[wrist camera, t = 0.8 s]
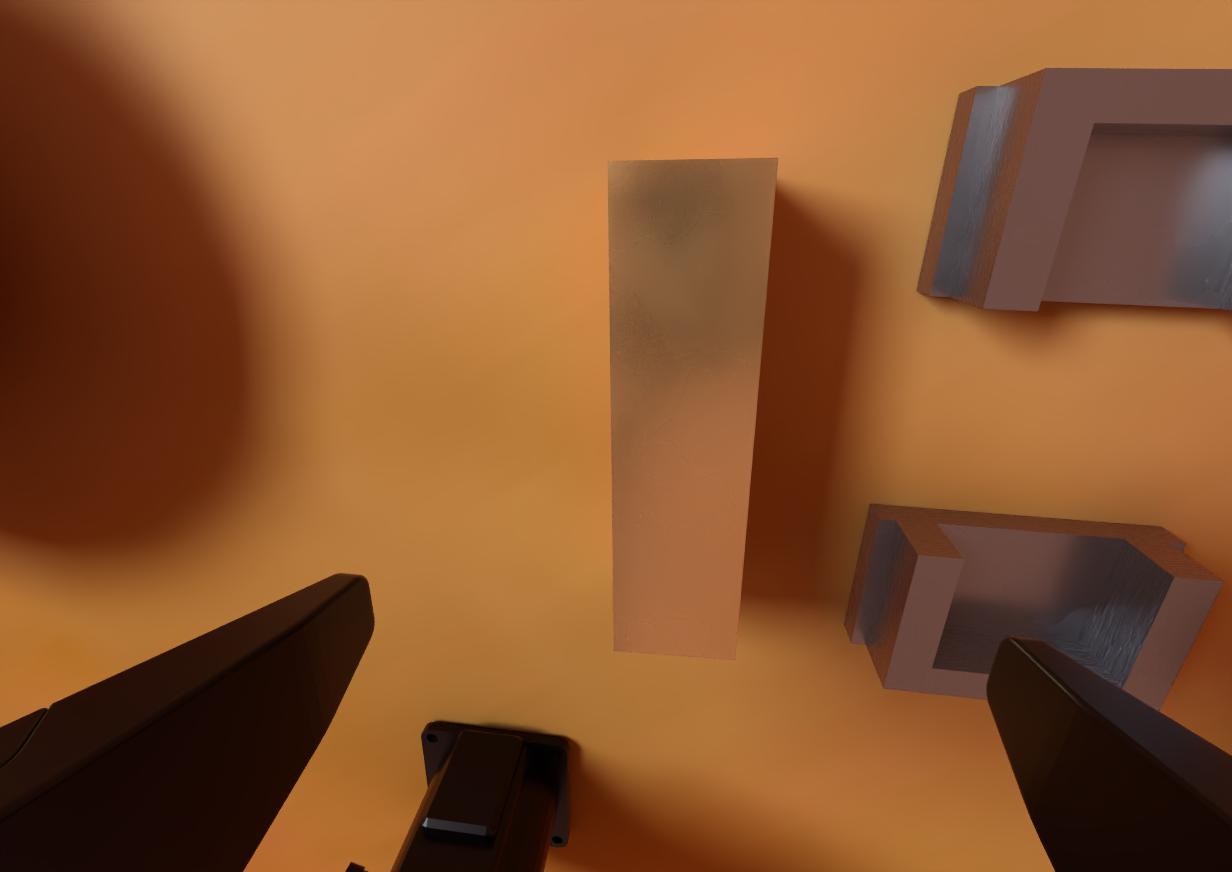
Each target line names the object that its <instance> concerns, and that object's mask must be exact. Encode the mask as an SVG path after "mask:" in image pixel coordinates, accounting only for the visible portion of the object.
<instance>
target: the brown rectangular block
mask: <svg viewBox="0 0 1232 872" xmlns="http://www.w3.org/2000/svg"><path fill="white" fill-rule="evenodd" d="M777 166H778V158H747V159H693V160H640V161H608V220H609V298H610V377H611V455H612V534H613V612H614V651H621V652H634V653H647V654H659V655H672V656H685V657H698V658H711V659H724V660H735V658H736V646H737V635H738V623H739V611H740V600H741V588H742V576H743V564H744V553H745V541H746V529H747V517H748V506H749V494H750V482H751V471H752V459H753V447H754V435H755V424H756V412H757V400H758V389H759V377H760V365H761V353H762V342H763V330H764V318H765V307H766V295H767V283H768V271H769V260H770V248H771V236H772V225H773V213H774V201H775V189H776V178H777Z"/></svg>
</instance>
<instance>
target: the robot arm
mask: <svg viewBox="0 0 1232 872" xmlns="http://www.w3.org/2000/svg"><path fill="white" fill-rule="evenodd" d="M374 622H375V621H374V613H373V607H372V600H371V594H370V588H369V583H368V581H367V579H366V578H365V577H364V576H362V575H355V574H345V573H338V574H335V575H332V576H330V577H328V578H326V579H324V580H321V581H319V582H317V583H315V584H313V585H310V586H308V587H306V588H304V589H302V590H300V591H297V592H295V593H293V594H291V595H289V596H286V597H284V598H282V599H280V600H278V601H276V602H273V603H271V604H269V605H267V606H265V607H262V608H260V609H258V610H256V611H254V612H252V613H249V614H247V615H245V616H243V617H241V618H238V619H236V620H234V621H232V622H230V623H228V624H225V625H223V626H221V627H219V628H217V629H214V630H212V631H210V632H208V633H206V634H204V635H201V636H199V637H197V638H195V639H193V640H190V641H188V642H186V643H184V644H182V645H180V646H177V647H175V648H173V649H171V650H169V651H166V652H164V653H162V654H160V655H158V656H155V657H153V658H151V659H149V660H147V661H145V662H142V663H140V664H138V665H136V666H134V667H131V668H129V669H127V670H125V671H123V672H121V673H118V674H116V675H114V676H112V677H110V678H107V679H105V680H103V681H101V682H99V683H97V684H94V685H92V686H90V687H88V688H86V689H83V690H81V691H79V692H77V693H75V694H73V695H70V696H68V697H66V698H64V699H62V700H59V701H57V702H55V703H53V704H52V705H51V706H50V707H49V709H47V708H42V709H39V710H37V711H35V712H33V713H31V714H29V715H26V716H24V717H22V718H20V719H18V720H16V721H13V722H11V723H9V724H7V725H5V726H2V727H0V872H243V871H244V869H245V868H246V866H247V864H248V863H249V861H250V859H251V858H252V856H253V854H254V853H255V851H256V849H257V848H258V846H259V844H260V842H261V841H262V839H263V837H264V836H265V834H266V832H267V831H268V829H269V827H270V826H271V824H272V822H273V821H274V819H275V817H276V816H277V814H278V812H279V811H280V809H281V807H282V806H283V804H284V802H285V801H286V799H287V797H288V796H289V794H290V792H291V791H292V789H293V787H294V786H295V784H296V782H297V781H298V779H299V777H300V776H301V774H302V772H303V771H304V769H305V767H306V766H307V764H308V762H309V760H310V759H311V757H312V755H313V754H314V752H315V750H316V749H317V747H318V745H319V744H320V742H321V740H322V738H323V736H324V735H325V733H326V731H327V729H328V727H329V725H330V723H331V721H332V719H333V717H334V715H335V713H336V711H337V709H338V707H339V705H340V703H341V701H342V698H343V696H344V694H345V692H346V690H347V688H348V686H349V684H350V682H351V679H352V677H353V675H354V673H355V671H356V669H357V667H358V665H359V662H360V660H361V658H362V656H363V654H364V652H365V650H366V648H367V646H368V643H369V641H370V639H371V637H372V634H373V631H374ZM986 695H987V700H988V703H989V706H990V709H991V712H992V714H993V717H994V720H995V723H996V726H997V728H998V731H999V734H1000V737H1001V739H1002V742H1003V745H1004V748H1005V750H1006V753H1007V756H1008V759H1009V762H1010V764H1011V767H1012V770H1013V773H1014V775H1015V778H1016V781H1017V784H1018V786H1019V789H1020V792H1021V795H1022V797H1023V800H1024V803H1025V805H1026V808H1027V810H1028V813H1029V815H1030V818H1031V820H1032V822H1033V825H1034V827H1035V829H1036V831H1037V833H1038V836H1039V838H1040V840H1041V842H1042V844H1043V847H1044V849H1045V851H1046V853H1047V855H1048V857H1049V859H1050V861H1051V863H1052V866H1053V868H1054V870H1055V872H1232V756H1231V755H1230V754H1228V753H1226V752H1225V751H1223V750H1221V749H1220V748H1218V747H1216V746H1215V745H1213V744H1212V743H1210V742H1208V741H1207V740H1205V739H1203V738H1202V737H1200V736H1198V735H1197V734H1195V733H1193V732H1192V731H1190V730H1189V729H1187V728H1185V727H1184V726H1182V725H1180V724H1179V723H1177V722H1175V721H1174V720H1172V719H1171V718H1169V717H1167V716H1166V715H1164V714H1162V713H1161V712H1159V711H1157V710H1156V709H1154V708H1152V707H1151V706H1149V705H1148V704H1146V703H1144V702H1143V701H1141V700H1139V699H1138V698H1136V697H1134V696H1133V695H1131V694H1129V693H1128V692H1126V691H1125V690H1123V689H1121V688H1120V687H1118V686H1116V685H1115V684H1113V683H1111V682H1110V681H1108V680H1106V679H1105V678H1103V677H1102V676H1100V675H1098V674H1097V673H1095V672H1093V671H1092V670H1090V669H1088V668H1087V667H1085V666H1084V665H1082V664H1080V663H1079V662H1077V661H1075V660H1074V659H1072V658H1070V657H1069V656H1067V655H1065V654H1064V653H1062V652H1061V651H1059V650H1057V649H1056V648H1054V647H1052V646H1051V645H1049V644H1047V643H1046V642H1044V641H1042V640H1039V639H1035V638H1025V637H1014V636H1009V637H1006V638H1004V639H1003V640H1002V641H1001V643H1000V645H999V647H998V650H997V653H996V656H995V659H994V662H993V665H992V668H991V671H990V674H989V677H988V680H987V685H986ZM421 739H422V747H423V754H424V762H425V769H426V777H427V784H428V789H427V792H426V794H425V796H424V798H423V800H422V803H421V805H420V807H419V809H418V812H417V814H416V816H415V818H414V820H413V823H412V825H411V827H410V829H409V832H408V834H407V836H406V838H405V840H404V843H403V845H402V847H401V849H400V852H399V854H398V856H397V858H396V860H395V863H394V865H393V867H392V869H391V871H390V872H544V868H545V863H546V859H547V854H548V850H549V846H553V847H564V846H566V845H567V843H568V838H569V833H570V807H569V744H568V743H567V742H566V741H565V740H564V739H562V738H558V737H550V736H542V735H534V734H526V733H518V732H510V731H502V730H494V729H485V728H477V727H469V726H461V725H453V724H445V723H437V722H430V723H428V724H427V725H426V726H425V728H424V730H423V732H422V735H421ZM364 869H365V867H364V866H361V865H358V864H356V863H353V862H351V863H350V865H349V866H348V868H347V870H346V872H368V871H365V870H364Z"/></svg>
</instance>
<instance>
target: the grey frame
mask: <svg viewBox="0 0 1232 872" xmlns="http://www.w3.org/2000/svg"><path fill="white" fill-rule="evenodd" d="M917 292H920V293H923V294H925V295H928V296H939V297H950V298H953V299H956V300H959V301H962V302H965V303H968V304H970V305H973V306H976V307H979V308H982V309H996V310H1018V311H1038V310H1039V307H1040V303H1041V301H1053V302H1075V303H1098V304H1121V305H1144V306H1166V307H1189V308H1212V309H1223V310H1228V311H1232V69H1101V68H1045V69H1043V70H1040V71H1038V72H1035V73H1032V74H1030V75H1027V76H1025V77H1022V78H1019V79H1017V80H1014V81H1012V82H1009V83H1007V84H1004V85H1001V86H977V87H974V88H972V89H969V90H967V91H965V92H962V93H960V94H959V98H958V103H957V107H956V112H955V117H954V121H953V126H952V130H951V135H950V140H949V144H948V149H947V153H946V158H945V163H944V167H943V172H942V176H941V181H940V186H939V190H938V195H937V199H936V204H935V209H934V213H933V218H932V222H931V227H930V232H929V236H928V241H927V245H926V250H925V255H924V259H923V264H922V268H921V273H920V278H919V282H918V287H917ZM1185 545H1186V543H1184V542H1183V541H1181V540H1180V539H1178V538H1177V537H1175V536H1174V535H1173V534H1171V533H1170V532H1168V531H1167V530H1165V529H1164V528H1162V527H1155V526H1143V525H1130V524H1117V523H1105V522H1092V521H1079V520H1067V519H1054V518H1041V517H1029V516H1016V515H1003V514H991V513H978V512H965V511H953V510H940V509H927V508H915V507H902V506H889V505H877V504H870V508H869V512H868V517H867V521H866V526H865V531H864V535H863V540H862V544H861V549H860V554H859V558H858V563H857V567H856V572H855V577H854V581H853V586H852V590H851V595H850V600H849V604H848V609H847V613H846V618H845V623H844V625H845V628H846V630H847V633H848V636H849V638H850V641H851V643H856V644H866V646H867V649H868V651H869V654H870V656H871V659H872V661H873V663H874V666H875V668H876V671H877V673H878V676H879V678H880V681H881V683H882V686H883V688H885V689H894V690H903V691H912V692H921V693H930V694H939V695H949V696H958V697H967V698H976V699H985V700H987V695H986V685H987V680H988V677H989V674H990V671H991V668H992V665H993V662H994V659H995V656H996V653H997V650H998V647H999V645H1000V643H1001V641H1002V640H1003V639H1004V638H1006V637H1009V636H1014V637H1025V638H1035V639H1039V640H1042V641H1044V642H1046V643H1047V644H1049V645H1051V646H1052V647H1054V648H1056V649H1057V650H1059V651H1061V652H1062V653H1064V654H1065V655H1067V656H1069V657H1070V658H1072V659H1074V660H1075V661H1077V662H1079V663H1080V664H1082V665H1084V666H1085V667H1087V668H1088V669H1090V670H1092V671H1093V672H1095V673H1097V674H1098V675H1100V676H1102V677H1103V678H1105V679H1106V680H1108V681H1110V682H1111V683H1113V684H1115V685H1116V686H1118V687H1120V688H1121V689H1123V690H1125V691H1126V692H1128V693H1129V694H1131V695H1133V696H1134V697H1136V698H1138V699H1139V700H1141V701H1143V702H1144V703H1146V704H1148V705H1149V706H1151V707H1152V708H1154V709H1156V710H1157V711H1159V710H1160V708H1161V706H1162V704H1163V702H1164V700H1165V698H1166V696H1167V694H1168V692H1169V690H1170V688H1171V686H1172V684H1173V682H1174V680H1175V678H1176V676H1177V674H1178V672H1179V670H1180V668H1181V667H1182V665H1183V663H1184V661H1185V659H1186V657H1187V655H1188V653H1189V651H1190V649H1191V647H1192V645H1193V643H1194V641H1195V639H1196V637H1197V635H1198V633H1199V631H1200V629H1201V627H1202V625H1203V623H1204V621H1205V619H1206V617H1207V615H1208V613H1209V611H1210V609H1211V607H1212V605H1213V603H1214V601H1215V599H1216V597H1217V595H1218V593H1219V591H1220V589H1221V587H1222V585H1223V583H1224V581H1223V580H1221V579H1220V578H1218V577H1217V576H1216V575H1214V574H1213V573H1211V572H1210V571H1208V570H1207V569H1206V568H1204V567H1203V566H1201V565H1200V564H1198V563H1197V562H1196V561H1194V560H1193V559H1191V558H1190V557H1188V556H1187V555H1186V554H1184V553H1183V550H1184V548H1185Z"/></svg>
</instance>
